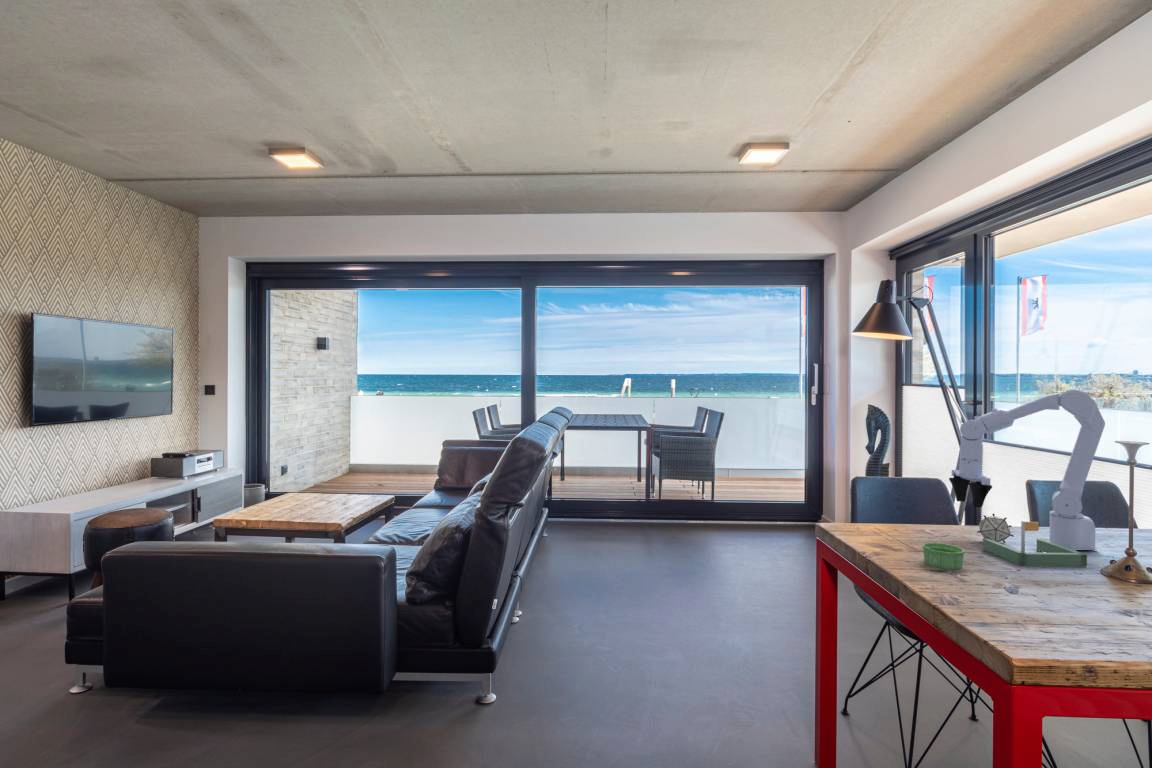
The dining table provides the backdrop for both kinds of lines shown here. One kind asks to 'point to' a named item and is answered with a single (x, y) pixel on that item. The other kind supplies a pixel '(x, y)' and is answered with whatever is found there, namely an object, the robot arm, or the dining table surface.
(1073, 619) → the dining table surface
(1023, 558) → the green tray
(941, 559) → the ramekin
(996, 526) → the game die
